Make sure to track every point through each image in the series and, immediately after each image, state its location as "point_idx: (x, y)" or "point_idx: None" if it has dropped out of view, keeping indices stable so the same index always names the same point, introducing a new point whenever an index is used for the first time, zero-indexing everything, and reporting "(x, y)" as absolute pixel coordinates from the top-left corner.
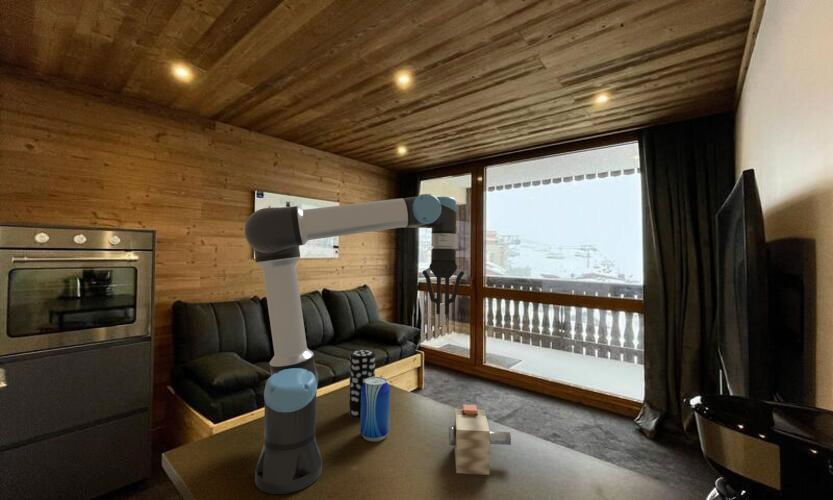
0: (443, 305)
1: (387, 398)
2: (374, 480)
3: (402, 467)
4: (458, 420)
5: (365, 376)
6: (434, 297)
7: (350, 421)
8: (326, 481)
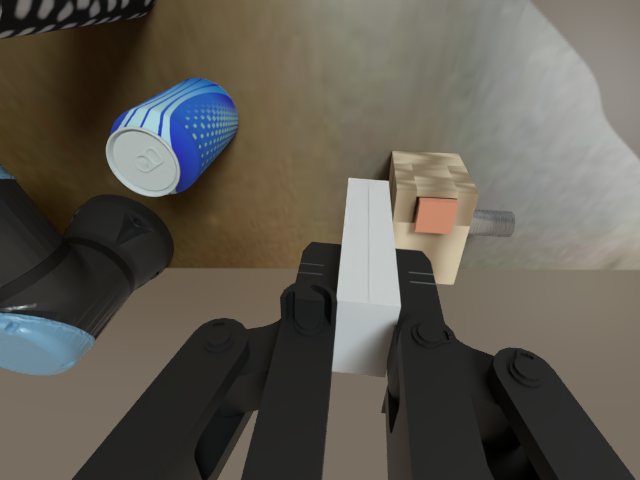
0: (367, 365)
1: (206, 165)
2: (254, 247)
3: (290, 218)
4: (395, 246)
5: (59, 26)
6: (238, 373)
7: (117, 38)
8: (188, 249)
